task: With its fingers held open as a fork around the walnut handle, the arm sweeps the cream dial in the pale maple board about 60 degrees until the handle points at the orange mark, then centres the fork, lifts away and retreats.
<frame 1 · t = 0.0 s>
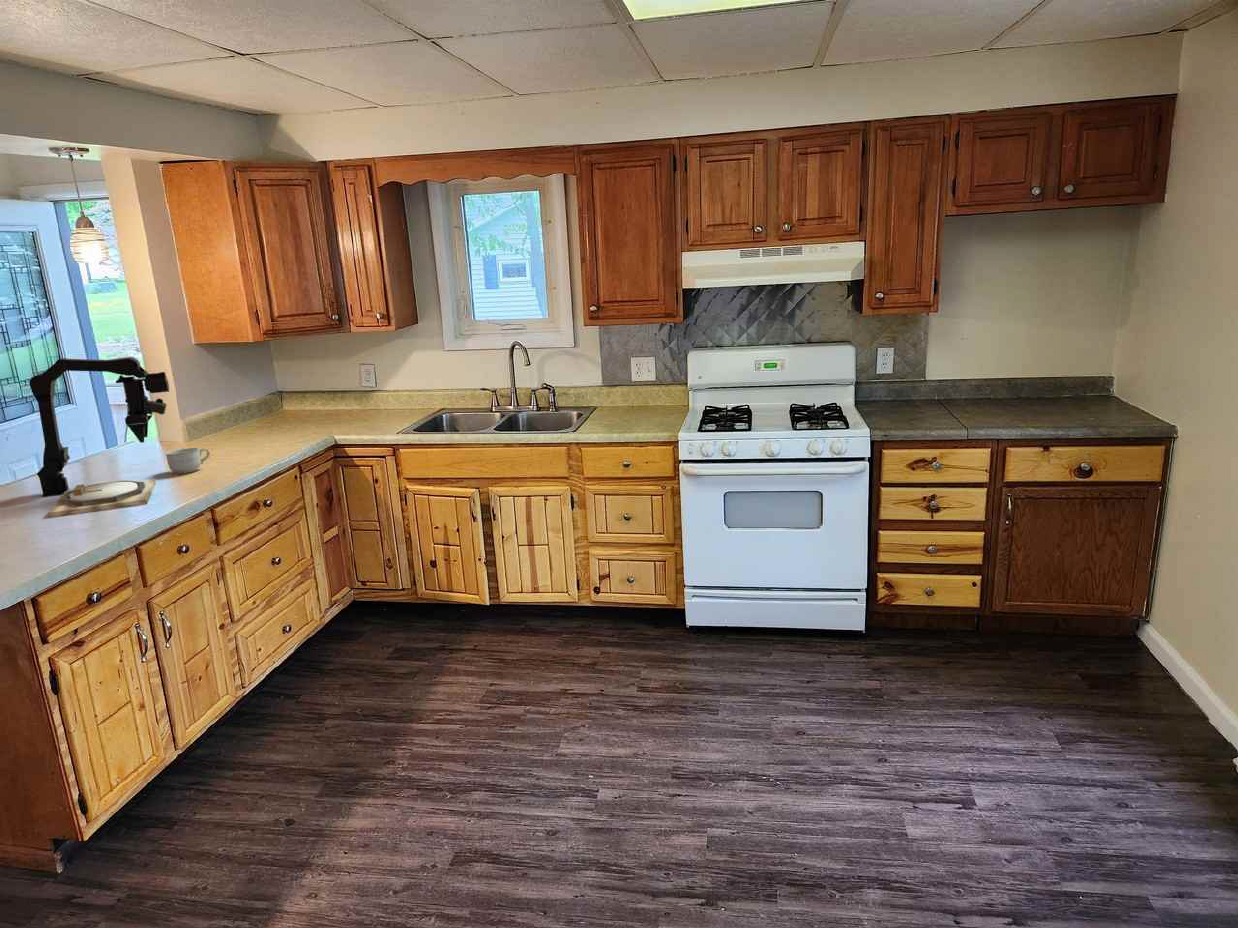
hand: (144, 439, 274), 15 cm above the worktop, fingers open, 9 cm apart
dial base: (105, 499, 258), on the worktop
dial: (103, 489, 257), point 3 cm above the worktop, hinge at 0.0°
teacup: (191, 471, 290), on the worktop
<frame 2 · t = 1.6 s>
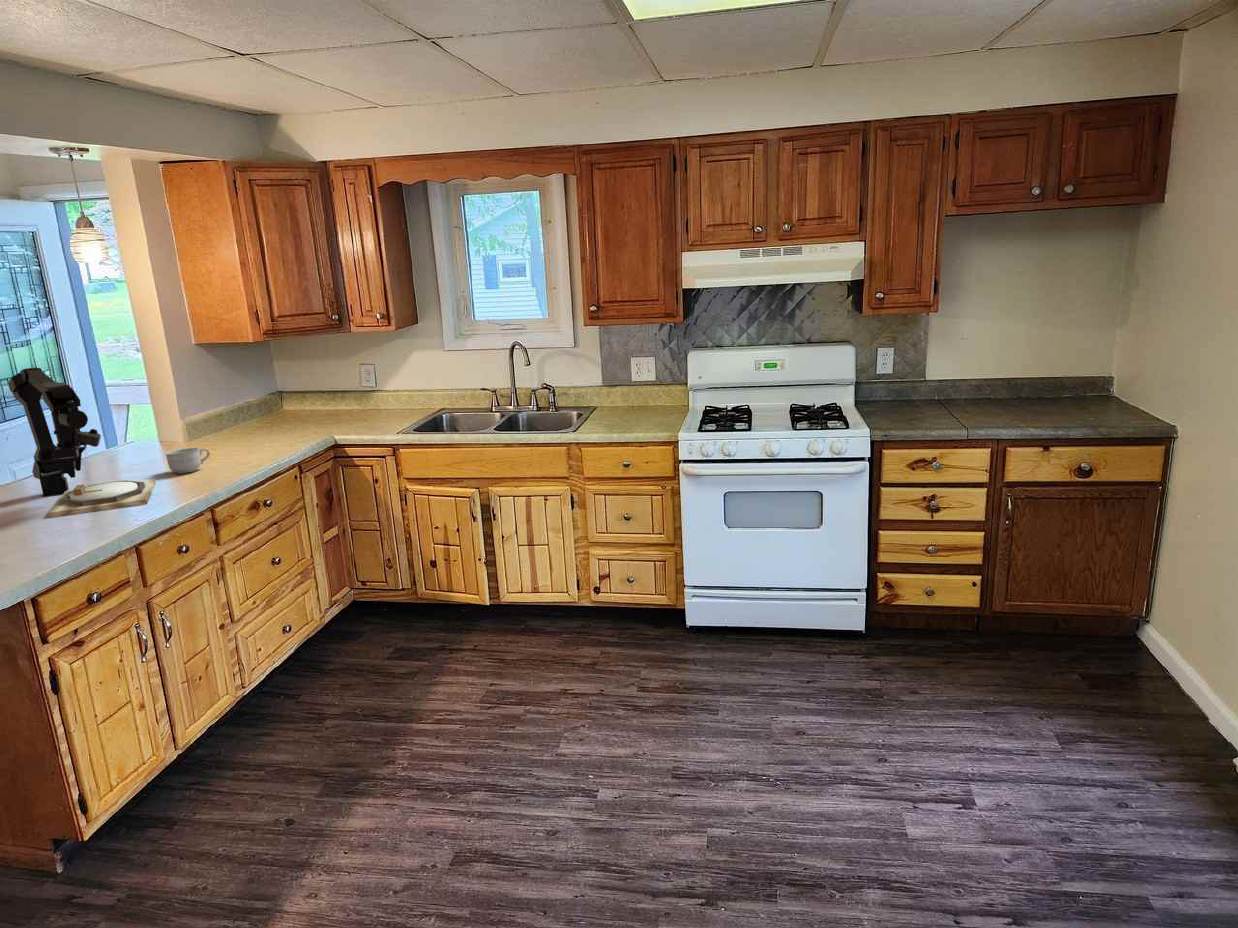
hand: (75, 474, 253), 9 cm above the worktop, fingers open, 9 cm apart
nothing on the worktop moved.
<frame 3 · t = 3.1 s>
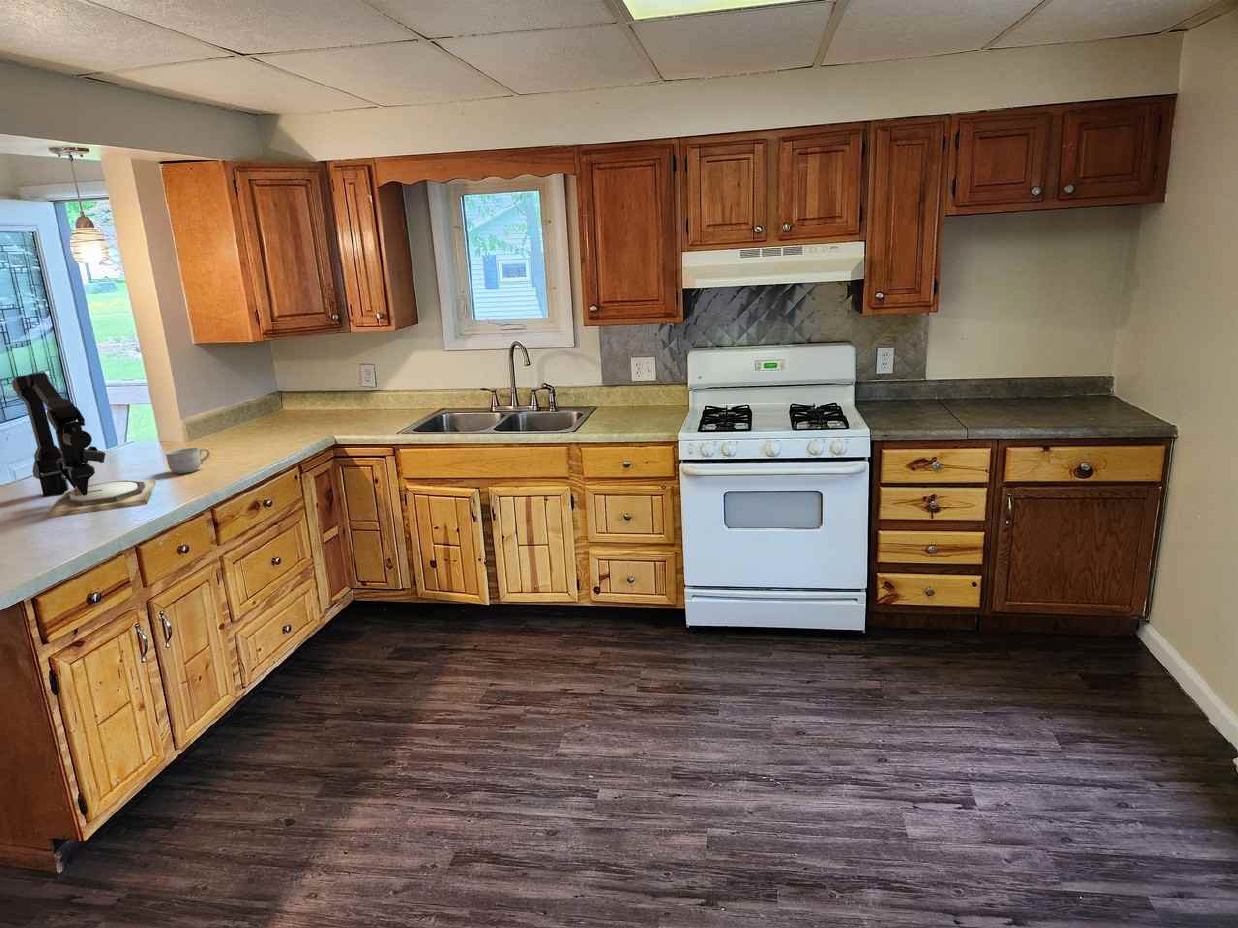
hand: (81, 492, 253), 4 cm above the worktop, fingers open, 9 cm apart
dial: (103, 489, 257), point 3 cm above the worktop, hinge at 3.4°, touching gripper
everything else where it was.
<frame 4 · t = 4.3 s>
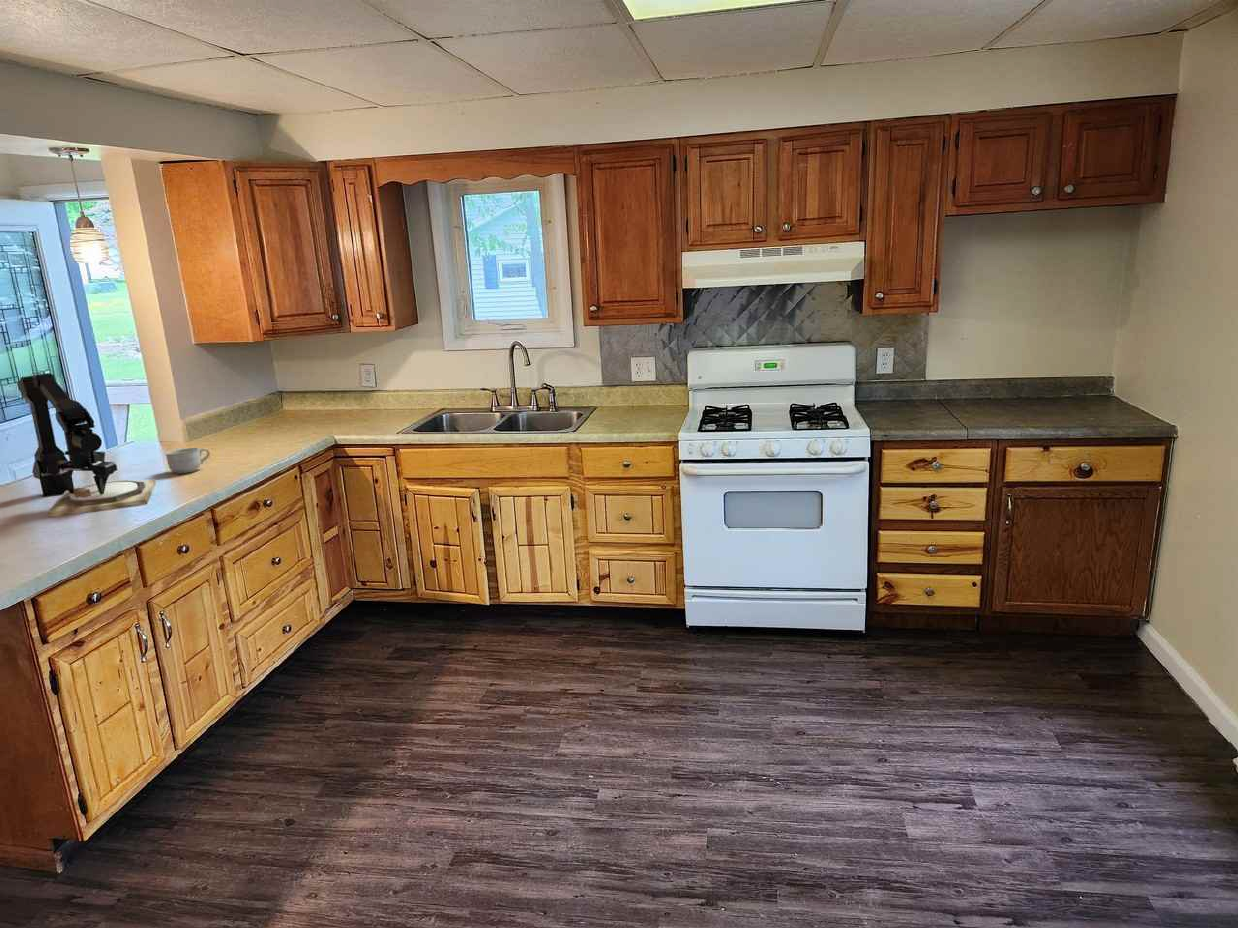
hand: (87, 493, 252), 4 cm above the worktop, fingers open, 9 cm apart
dial: (103, 489, 257), point 3 cm above the worktop, hinge at 35.8°, touching gripper
everything else where it was.
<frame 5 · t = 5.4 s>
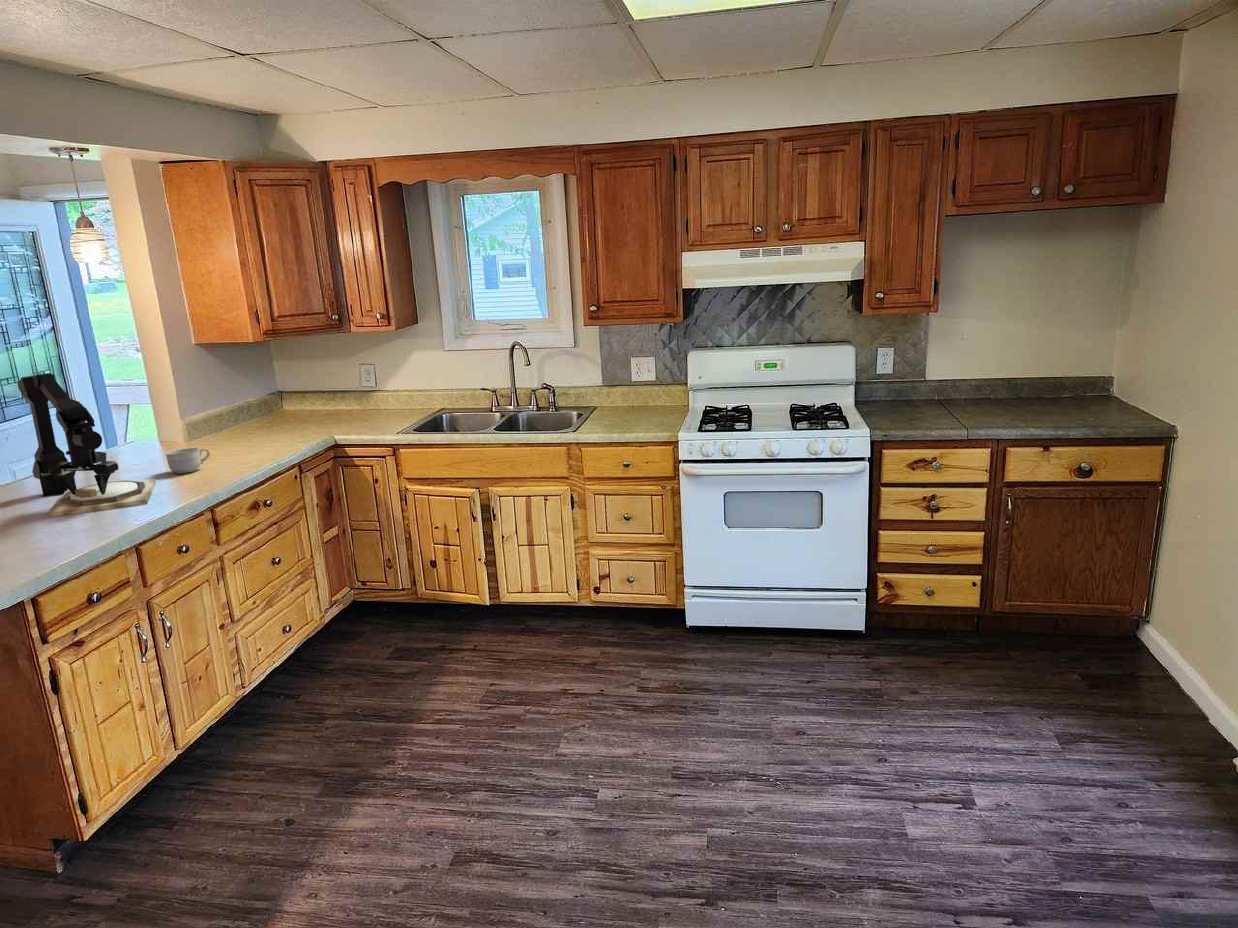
hand: (89, 494, 251), 4 cm above the worktop, fingers open, 9 cm apart
dial: (103, 489, 257), point 3 cm above the worktop, hinge at 52.3°
everything else where it was.
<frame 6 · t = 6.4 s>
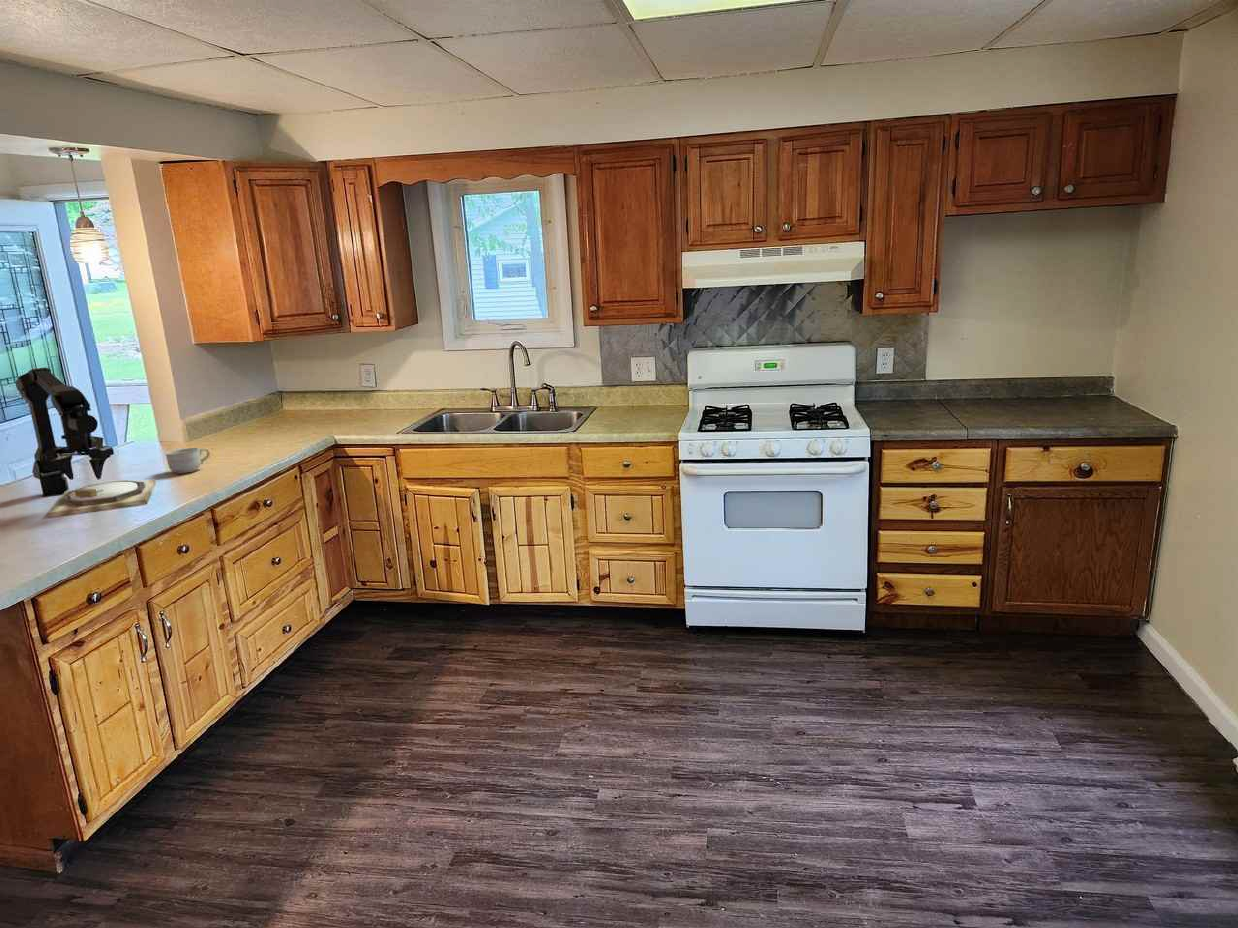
hand: (85, 479, 249), 9 cm above the worktop, fingers open, 9 cm apart
nothing on the worktop moved.
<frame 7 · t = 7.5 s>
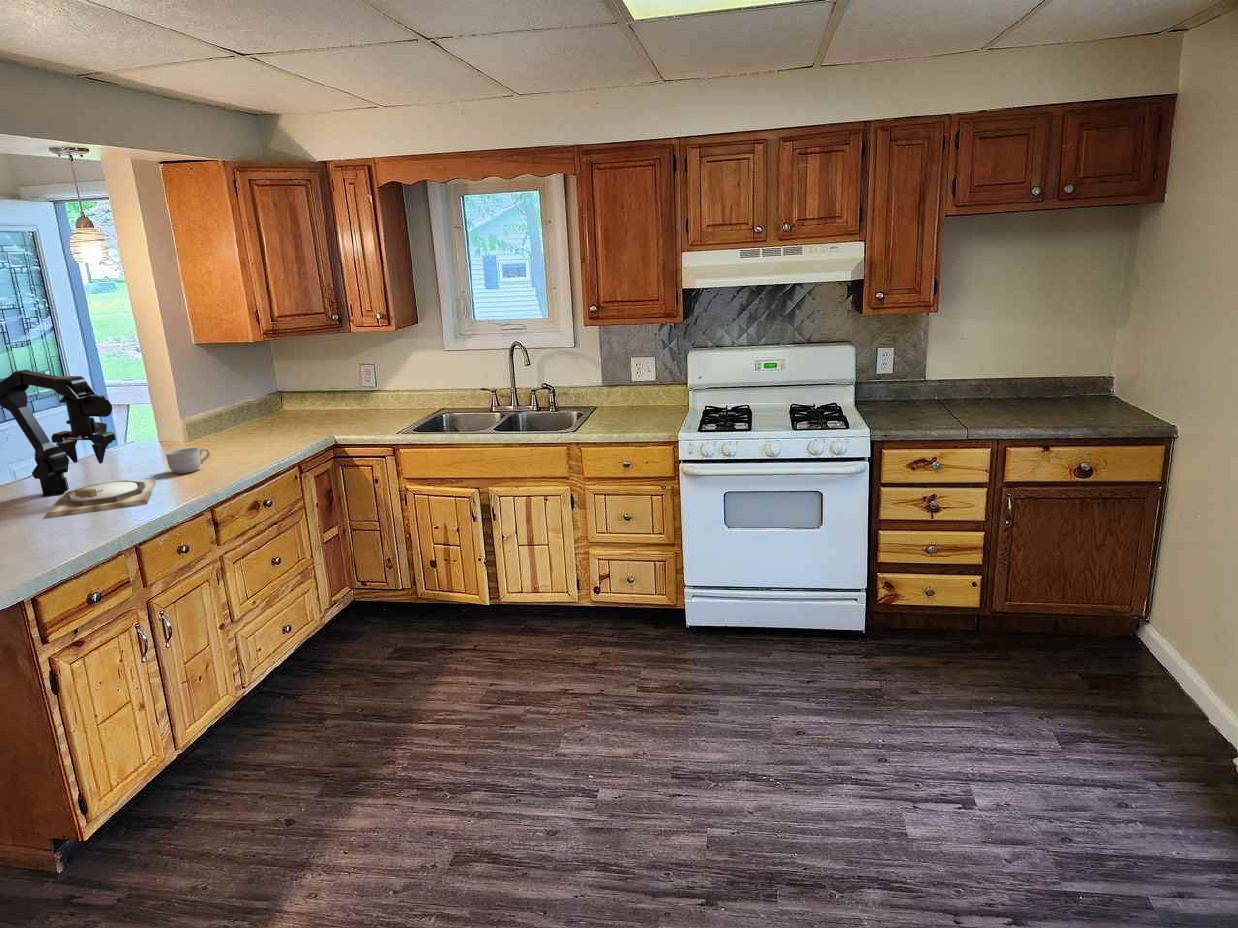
hand: (88, 462, 262), 11 cm above the worktop, fingers open, 9 cm apart
nothing on the worktop moved.
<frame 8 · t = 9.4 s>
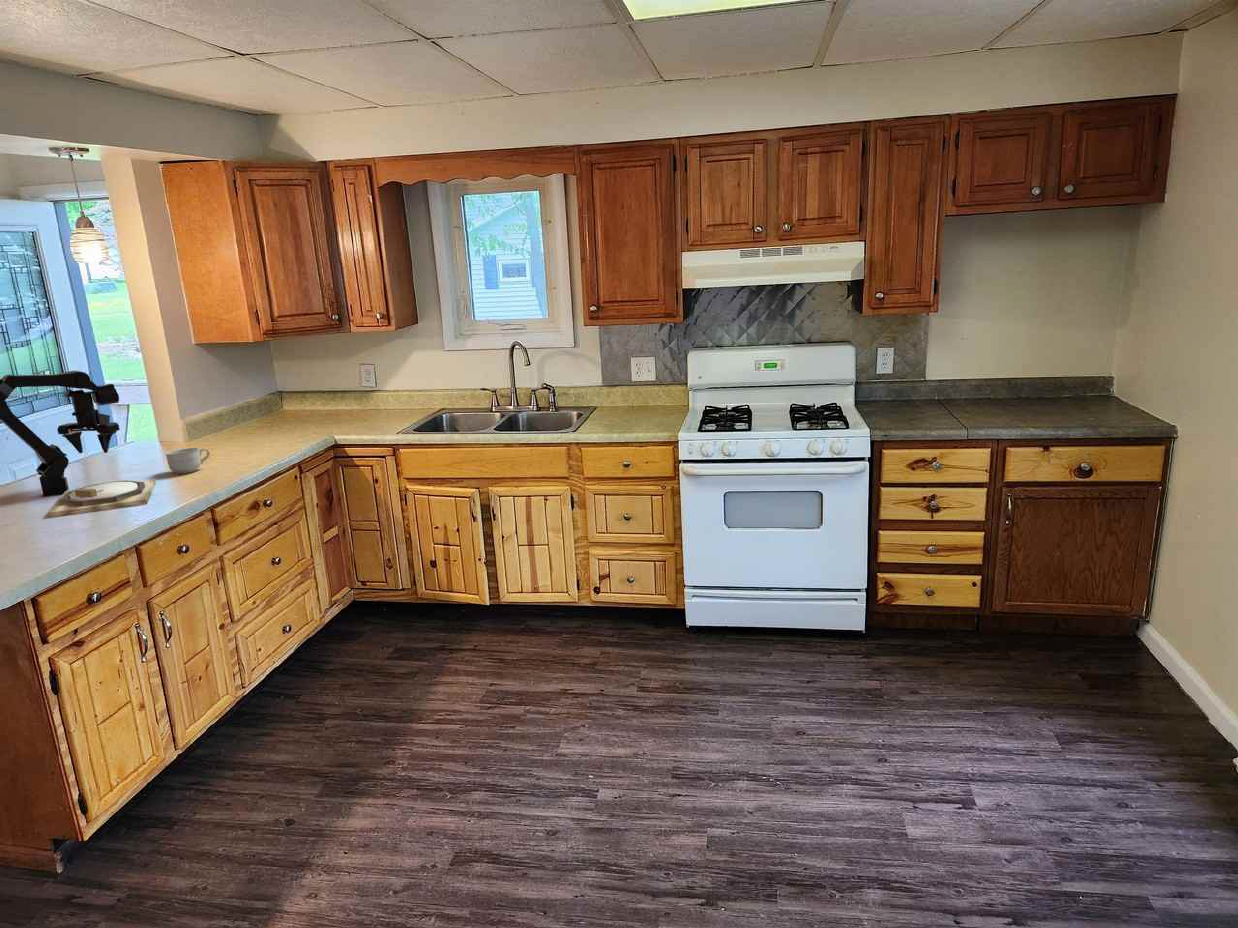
hand: (93, 452, 274), 11 cm above the worktop, fingers open, 9 cm apart
nothing on the worktop moved.
at the end: dial at +52° (first picture: +0°); teacup moved 0.3 cm from its start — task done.
